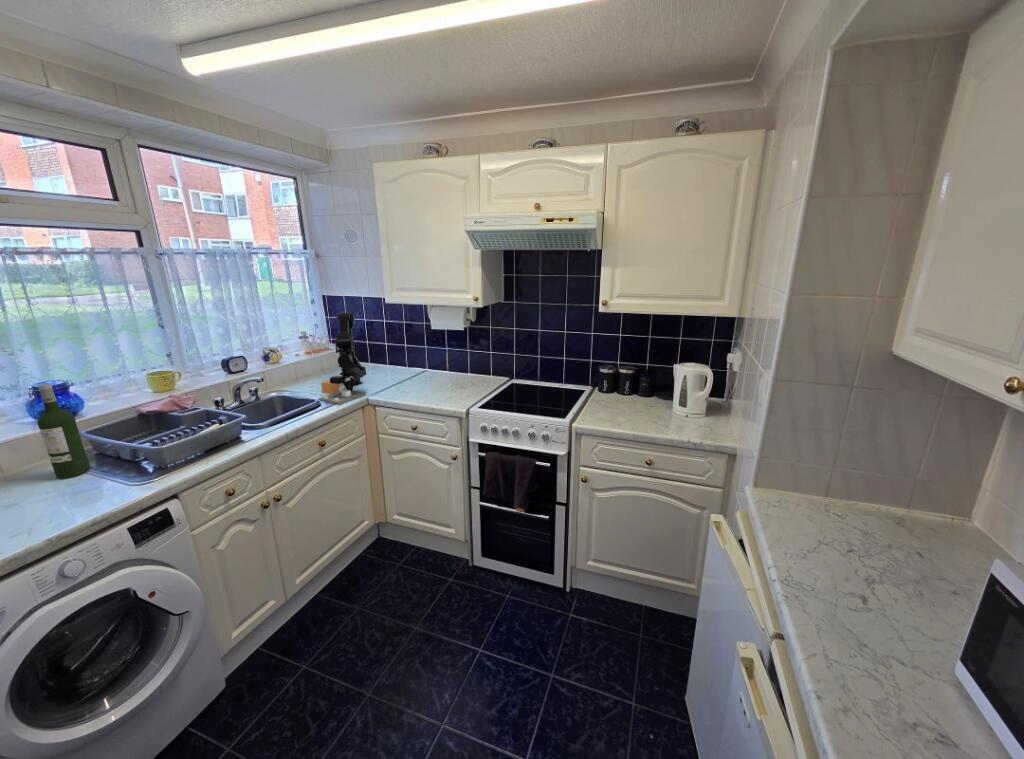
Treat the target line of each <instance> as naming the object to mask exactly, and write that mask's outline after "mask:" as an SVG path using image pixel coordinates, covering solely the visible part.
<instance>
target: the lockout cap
mask: <svg viewBox="0 0 1024 759" xmlns="http://www.w3.org/2000/svg"><path fill="white" fill-rule="evenodd" d="M320 384H321V390H322V391H321V392H322V393H323V394H327V395H330V394H333V393H336V392H338V391H339V387H342V385H341V384H333V383H330V379H328V380H325V381H324V380H323V381H321V382H320Z"/></svg>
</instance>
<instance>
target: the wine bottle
mask: <svg viewBox="0 0 1024 759" xmlns="http://www.w3.org/2000/svg"><path fill="white" fill-rule="evenodd" d="M38 390H39V392H40V396H41V399H42V403H43V406H44V407H43V408H44V412H43V413H42V414H41V415H40V417H39V418H38V420H37V421H36V422H37V426H38V430H39V431H40V434H41V438H42V440H43V443H44V445H45V446H44V447H45V449H46V453H47V455H48V457H49V461H50V463H51V466H52V469H53V473H54V475H55V477H56V478H57V479H60V480H66V479H73V478H75V477H79V476H82V475H85V474H86V472H87V471H88V470H89V469H90V467H91V465H90V461H89V458H88V455H87V450H86V449H85V446H84V443H83V439H82V437H81V433H80V431H79V427H78V424H77V421H76V419H75V418H76V417H75V416H74V414H73V412H71V411H69V410H65V409H62V408H61V407H60V404H59V403H58V399H57V397H56V395H55V392H54V389H53V385H52V384H51V383H44V384H40V385H38ZM90 470H91V469H90ZM90 470H89V471H90ZM89 471H88V472H89ZM88 472H87V473H88ZM84 473H85V474H84Z"/></svg>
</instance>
